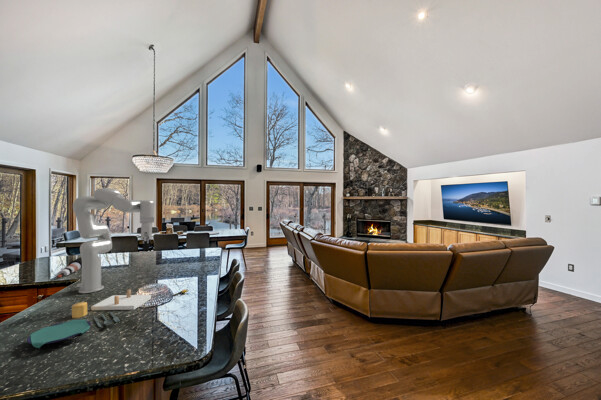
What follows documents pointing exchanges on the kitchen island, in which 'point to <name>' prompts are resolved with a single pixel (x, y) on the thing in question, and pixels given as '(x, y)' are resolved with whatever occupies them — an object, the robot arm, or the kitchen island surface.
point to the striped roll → (71, 267)
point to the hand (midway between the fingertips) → (146, 248)
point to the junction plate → (121, 302)
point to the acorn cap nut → (79, 309)
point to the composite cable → (180, 292)
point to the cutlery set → (63, 331)
